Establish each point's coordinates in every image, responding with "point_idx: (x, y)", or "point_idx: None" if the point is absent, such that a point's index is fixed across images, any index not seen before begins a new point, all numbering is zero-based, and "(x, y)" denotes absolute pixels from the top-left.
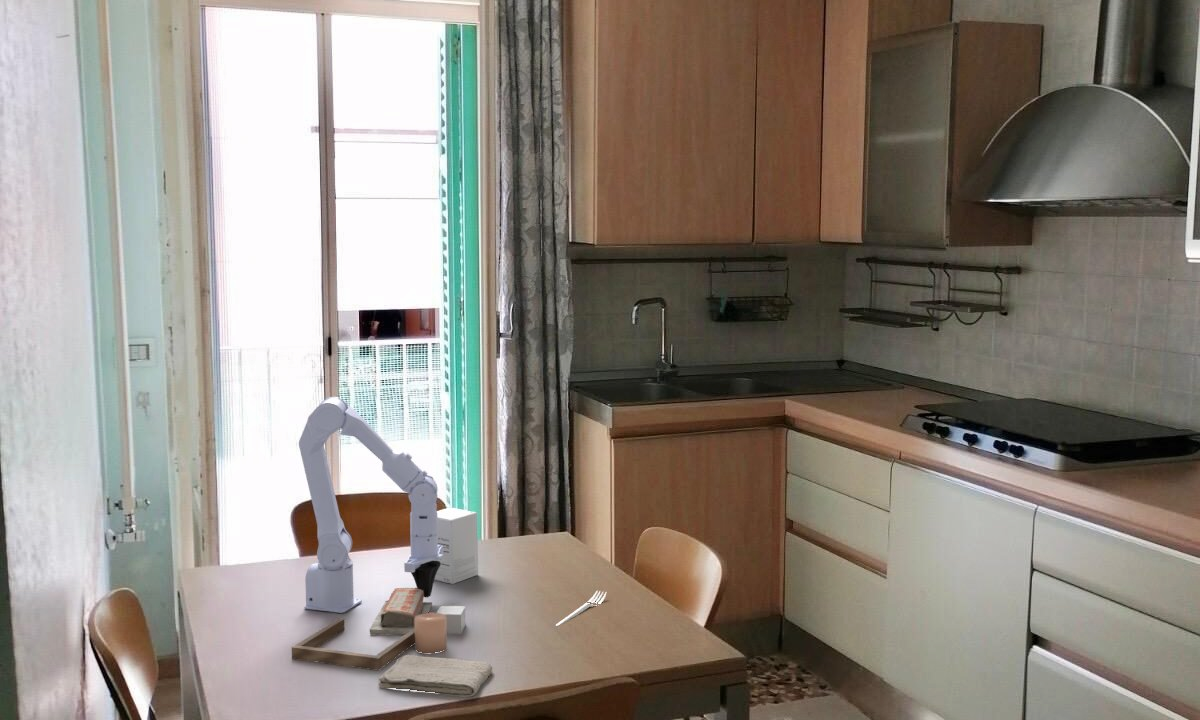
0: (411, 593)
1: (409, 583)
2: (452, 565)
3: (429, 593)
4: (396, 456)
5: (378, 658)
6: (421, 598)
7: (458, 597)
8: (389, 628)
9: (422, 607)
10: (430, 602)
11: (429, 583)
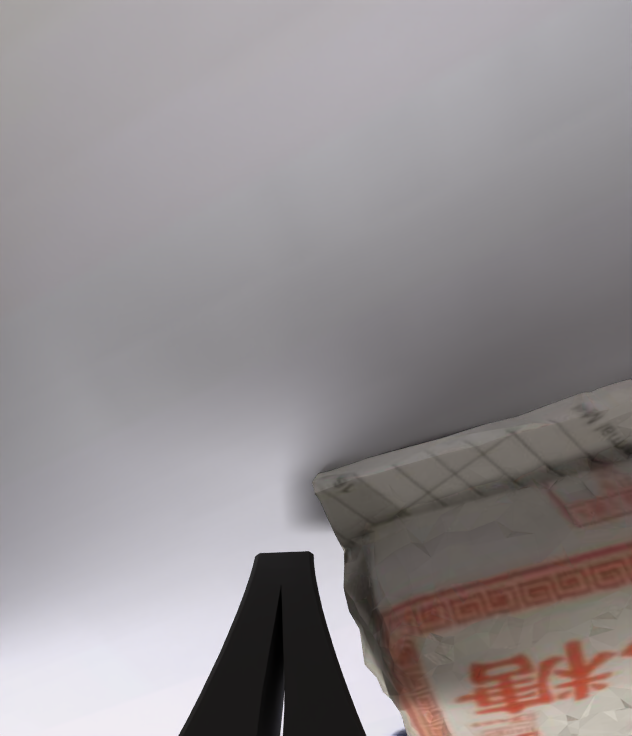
0: (592, 678)
1: (7, 708)
2: None
3: (293, 575)
4: None
5: None
6: (607, 566)
7: (13, 379)
8: None
9: (502, 492)
10: (323, 498)
11: (333, 691)
